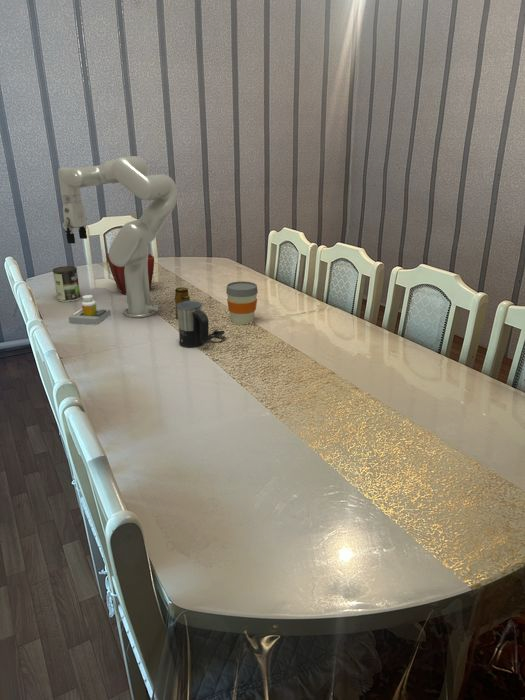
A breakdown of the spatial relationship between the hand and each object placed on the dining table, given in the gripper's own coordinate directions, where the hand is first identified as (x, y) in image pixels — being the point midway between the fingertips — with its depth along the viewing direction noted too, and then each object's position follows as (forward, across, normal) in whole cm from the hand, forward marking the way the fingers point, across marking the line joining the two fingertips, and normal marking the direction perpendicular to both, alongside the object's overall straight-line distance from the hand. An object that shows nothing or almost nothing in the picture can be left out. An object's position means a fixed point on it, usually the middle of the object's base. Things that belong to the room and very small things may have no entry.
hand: (77, 240), depth 219 cm
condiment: (+29, -7, -48) cm, 56 cm away
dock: (+28, -17, -11) cm, 35 cm away
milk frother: (+29, -30, -63) cm, 76 cm away
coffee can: (+29, +6, +12) cm, 32 cm away
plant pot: (+29, +25, -11) cm, 40 cm away
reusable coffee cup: (+28, -7, -73) cm, 79 cm away
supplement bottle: (+28, -17, -11) cm, 35 cm away
